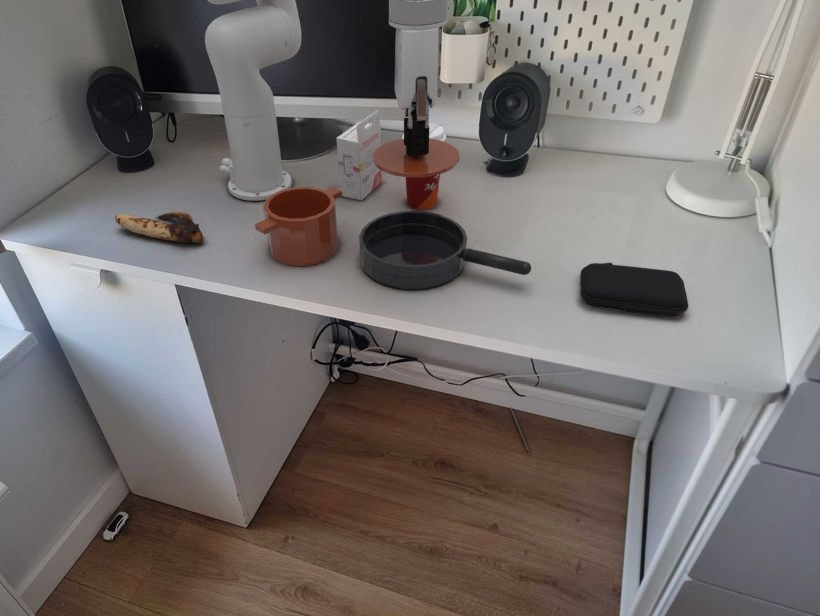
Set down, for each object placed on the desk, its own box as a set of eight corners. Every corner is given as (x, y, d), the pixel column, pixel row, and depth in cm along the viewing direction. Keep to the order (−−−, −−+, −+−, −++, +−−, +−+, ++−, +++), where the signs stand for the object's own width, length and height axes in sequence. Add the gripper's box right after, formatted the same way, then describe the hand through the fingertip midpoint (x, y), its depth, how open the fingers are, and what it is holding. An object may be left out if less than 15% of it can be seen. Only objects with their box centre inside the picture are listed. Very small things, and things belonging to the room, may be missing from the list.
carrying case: (678, 280, 99) (578, 269, 102) (684, 263, 97) (582, 253, 100) (686, 322, 91) (578, 309, 94) (693, 305, 89) (582, 292, 92)
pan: (341, 275, 104) (340, 251, 101) (387, 225, 115) (387, 202, 112) (440, 302, 97) (442, 277, 94) (479, 246, 108) (482, 223, 105)
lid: (355, 165, 95) (353, 123, 91) (411, 138, 101) (412, 98, 97) (420, 190, 88) (421, 146, 84) (476, 159, 94) (479, 117, 90)
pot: (244, 255, 109) (236, 210, 104) (317, 218, 118) (314, 174, 112) (288, 281, 103) (282, 235, 97) (362, 239, 112) (361, 195, 106)
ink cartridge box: (360, 178, 130) (357, 104, 120) (382, 183, 128) (381, 108, 118) (338, 196, 124) (334, 121, 114) (361, 201, 122) (358, 125, 112)
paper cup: (440, 213, 117) (444, 139, 108) (398, 211, 119) (399, 137, 110) (444, 193, 123) (448, 121, 114) (404, 191, 124) (405, 120, 115)
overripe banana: (222, 229, 117) (140, 212, 122) (219, 206, 114) (135, 189, 119) (194, 254, 110) (108, 235, 115) (189, 230, 107) (102, 211, 112)
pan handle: (459, 262, 100) (459, 251, 99) (463, 255, 102) (464, 244, 100) (528, 278, 96) (530, 267, 95) (531, 272, 98) (533, 260, 96)
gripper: (384, -3, 88) (386, 129, 100) (393, 28, 75) (394, 175, 87) (439, -6, 88) (434, 126, 99) (457, 24, 75) (450, 172, 87)
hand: (416, 148), depth 93 cm, fingers closed on lid, 2 cm apart
